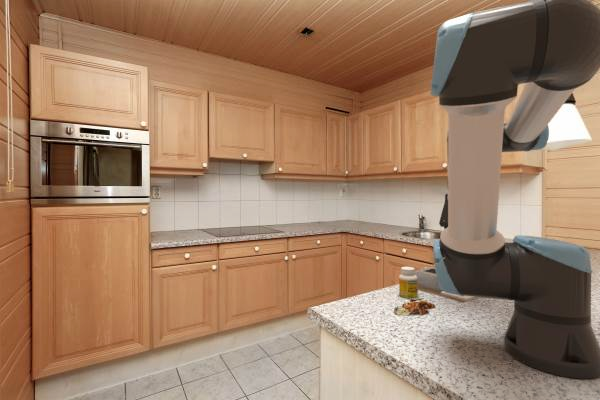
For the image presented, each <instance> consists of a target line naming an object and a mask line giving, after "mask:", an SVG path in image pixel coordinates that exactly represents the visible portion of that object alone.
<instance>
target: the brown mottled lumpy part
mask: <svg viewBox="0 0 600 400" xmlns="http://www.w3.org/2000/svg"><path fill="white" fill-rule="evenodd" d="M433 309H436V305H435V304H434V303H433V302H428V300H426V299H425V298H424V297H417V298H415V299H410V300H409V302H405V303H402V305H401V306H396V307H394V310H393V312H392V313H393V314H396V315H398V316H399V317H401V316H400V315H403V316H402V317H408V316H409V315H410V314H411V313H414V314H416V313H419V315H421V316H424V315H426V316H427V315H429V314H430V310H433ZM421 316H420V317H421Z"/></svg>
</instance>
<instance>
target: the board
mask: <svg viewBox="0 0 600 400" xmlns="http://www.w3.org/2000/svg"><path fill="white" fill-rule="evenodd" d="M418 291H419V292H420V291H421V292H424V293H427V294H430V295H431V294H432V295H435V296H438V297H442V298H446V299H448V300H451V301H455V302H459V303H466V302H468V301H470V300H468V301H465V300H461V299H457V298H454V297H450V296H447V295H443V294H441V293H440V292H436V291H432V290H429V289H425V288H421V287H418ZM474 299H475V298H473V299H472V300H474Z"/></svg>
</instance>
